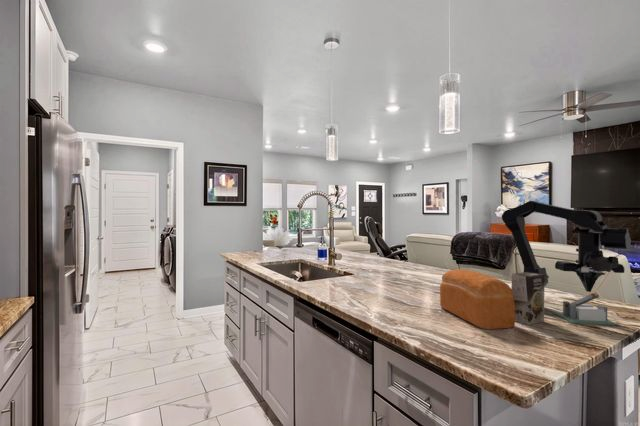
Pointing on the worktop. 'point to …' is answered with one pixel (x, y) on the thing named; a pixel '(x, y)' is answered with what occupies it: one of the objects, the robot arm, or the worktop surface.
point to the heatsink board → (573, 315)
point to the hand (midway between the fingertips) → (588, 291)
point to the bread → (478, 299)
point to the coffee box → (528, 297)
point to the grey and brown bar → (584, 299)
